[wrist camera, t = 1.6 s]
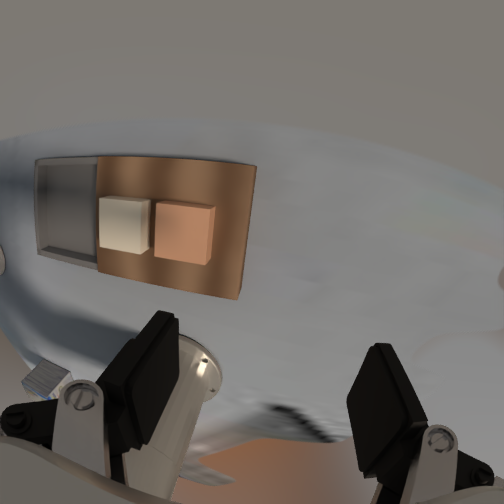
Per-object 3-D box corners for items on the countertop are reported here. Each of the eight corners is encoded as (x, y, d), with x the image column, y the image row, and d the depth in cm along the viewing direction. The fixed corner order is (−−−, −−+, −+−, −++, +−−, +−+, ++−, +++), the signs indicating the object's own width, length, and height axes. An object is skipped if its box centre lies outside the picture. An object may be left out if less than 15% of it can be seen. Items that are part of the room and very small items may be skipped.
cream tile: (151, 199, 25) (141, 202, 23) (149, 248, 27) (140, 254, 25) (110, 195, 25) (99, 198, 23) (109, 241, 27) (99, 246, 25)
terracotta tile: (215, 206, 25) (210, 209, 23) (210, 258, 26) (205, 265, 24) (165, 200, 25) (156, 203, 23) (162, 250, 26) (154, 256, 25)
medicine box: (50, 373, 41) (28, 397, 33) (44, 357, 40) (19, 381, 32) (76, 386, 41) (54, 414, 32) (70, 370, 39) (46, 398, 31)
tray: (111, 156, 27) (99, 157, 25) (110, 263, 31) (99, 270, 29) (47, 158, 28) (35, 159, 25) (48, 249, 32) (37, 254, 29)
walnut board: (257, 166, 26) (254, 165, 23) (241, 287, 30) (237, 300, 27) (113, 156, 27) (98, 156, 24) (111, 263, 31) (98, 271, 28)
